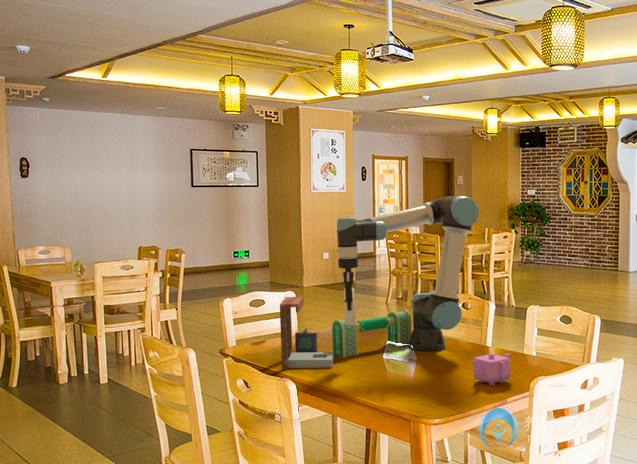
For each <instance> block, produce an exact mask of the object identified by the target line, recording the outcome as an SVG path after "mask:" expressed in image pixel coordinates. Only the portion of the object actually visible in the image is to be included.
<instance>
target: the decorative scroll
mask: <svg viewBox="0 0 637 464" xmlns="http://www.w3.org/2000/svg"><path fill="white" fill-rule="evenodd" d="M412 325H413V321H412V315H411V314H410V312H409V311H408V310H406V309H401V310H400V311H397V312H396V311H389V312H388V313H387V315H386V316H382V317H375V318H374V317H373V318H368V319H367V318H366V319H360V320H357V321H355V325H345V319H343V320H340V319H335V320H333V322H332V325H331V340H332V342H331V343H332V352H334V356H338V357H341V358H346V357H351V356H359V337H358V334H359V333H358V332H360V333H361V332H368V331H369V332H370V331H375V330H376V331H377V330H381V329H386V342H387V341H391V342H395V343H402V344H410V338H411V335H412V332H413V329H412V328H413V326H412Z"/></svg>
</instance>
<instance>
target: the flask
mask: <svg viewBox="0 0 637 464" xmlns="http://www.w3.org/2000/svg"><path fill="white" fill-rule="evenodd" d="M308 330H309V329H308V328H307V327H304V330H299V331H296V332H295V333H294V339H295V342H294V343H295V347H294V348H295V353H307V352H319V351H318V332H317V331H308Z"/></svg>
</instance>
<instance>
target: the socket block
mask: <svg viewBox="0 0 637 464" xmlns="http://www.w3.org/2000/svg"><path fill="white" fill-rule="evenodd" d="M334 356H335V354H334V352H333V351H329V352H328V351H326V352H323V351H320V352H319V351H318V352H307V353H296V352H292V353H291V355H290V357H289V359H288V369H289V368H290V369H293V368H294V369H296V368H299V369H301V368H302V369H303V368H309V369H311V368H333V365H334V360H335V357H334Z"/></svg>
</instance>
